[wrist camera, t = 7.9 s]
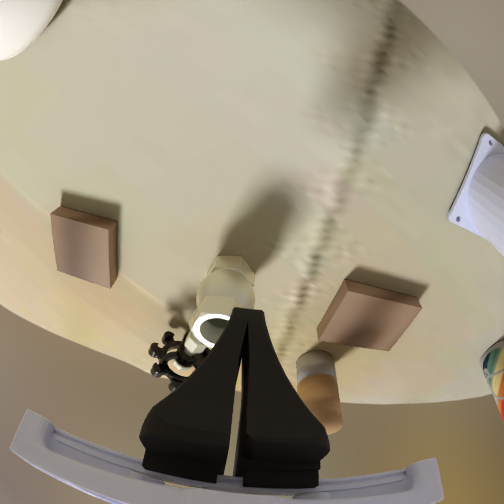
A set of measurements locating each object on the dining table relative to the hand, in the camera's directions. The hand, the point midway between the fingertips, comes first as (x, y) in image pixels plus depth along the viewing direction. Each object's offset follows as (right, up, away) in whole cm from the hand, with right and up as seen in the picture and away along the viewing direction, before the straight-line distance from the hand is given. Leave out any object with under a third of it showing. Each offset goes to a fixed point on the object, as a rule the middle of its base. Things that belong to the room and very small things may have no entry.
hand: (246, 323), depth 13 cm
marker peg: (+7, -8, +16) cm, 19 cm away
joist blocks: (-2, +1, +11) cm, 11 cm away
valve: (-3, -1, +12) cm, 13 cm away
